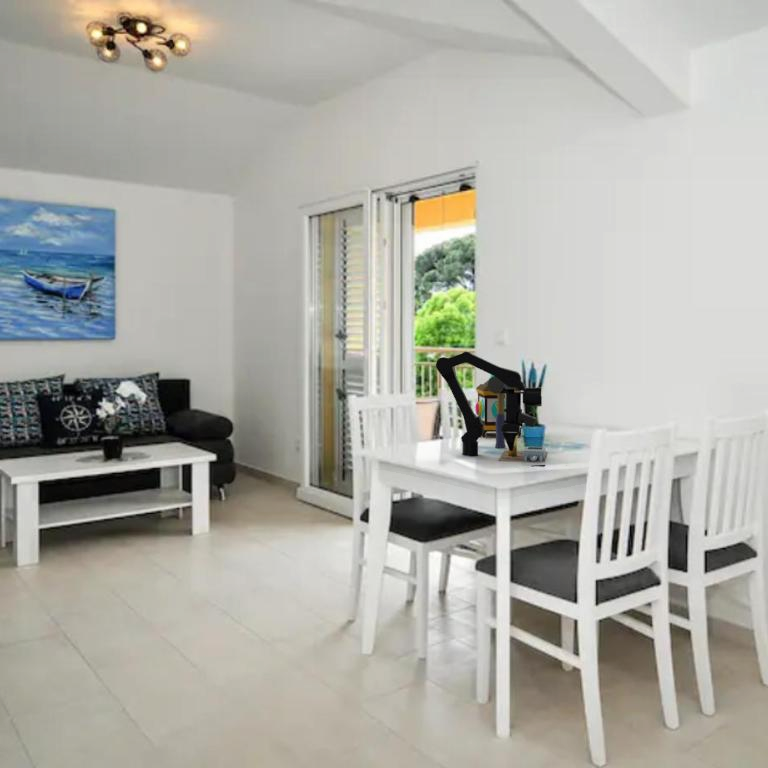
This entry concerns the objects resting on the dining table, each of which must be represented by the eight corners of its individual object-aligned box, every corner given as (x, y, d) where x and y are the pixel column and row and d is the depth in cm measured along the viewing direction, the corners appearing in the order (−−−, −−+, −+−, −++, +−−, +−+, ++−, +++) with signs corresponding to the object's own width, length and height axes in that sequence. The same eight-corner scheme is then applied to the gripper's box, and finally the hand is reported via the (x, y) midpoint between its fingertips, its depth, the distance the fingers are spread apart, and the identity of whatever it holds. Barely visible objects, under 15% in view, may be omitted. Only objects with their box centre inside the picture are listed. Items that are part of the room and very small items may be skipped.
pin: (503, 455, 281) (504, 430, 281) (515, 454, 283) (515, 430, 282) (509, 457, 277) (510, 432, 276) (521, 456, 279) (521, 431, 278)
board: (504, 454, 293) (504, 450, 293) (547, 455, 289) (547, 451, 289) (497, 465, 270) (498, 460, 269) (544, 466, 266) (544, 462, 266)
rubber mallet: (504, 454, 292) (504, 375, 290) (485, 453, 296) (485, 374, 294) (514, 449, 303) (515, 373, 301) (496, 448, 307) (497, 373, 305)
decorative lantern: (514, 432, 356) (514, 367, 354) (525, 438, 337) (526, 369, 334) (471, 432, 355) (471, 367, 353) (479, 438, 335) (480, 369, 333)
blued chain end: (525, 454, 282) (525, 446, 282) (545, 455, 281) (545, 447, 280) (522, 461, 267) (522, 453, 267) (543, 462, 266) (543, 453, 266)
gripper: (534, 409, 268) (533, 453, 269) (536, 404, 286) (536, 445, 287) (501, 408, 271) (501, 452, 272) (506, 403, 289) (506, 444, 290)
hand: (512, 448), depth 280 cm, fingers open, 9 cm apart
